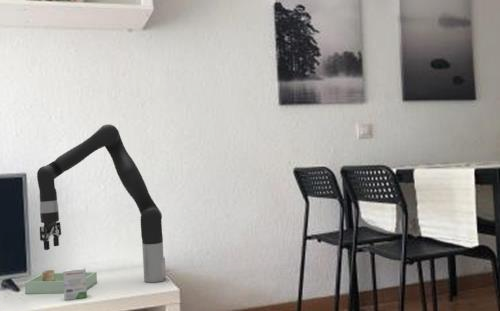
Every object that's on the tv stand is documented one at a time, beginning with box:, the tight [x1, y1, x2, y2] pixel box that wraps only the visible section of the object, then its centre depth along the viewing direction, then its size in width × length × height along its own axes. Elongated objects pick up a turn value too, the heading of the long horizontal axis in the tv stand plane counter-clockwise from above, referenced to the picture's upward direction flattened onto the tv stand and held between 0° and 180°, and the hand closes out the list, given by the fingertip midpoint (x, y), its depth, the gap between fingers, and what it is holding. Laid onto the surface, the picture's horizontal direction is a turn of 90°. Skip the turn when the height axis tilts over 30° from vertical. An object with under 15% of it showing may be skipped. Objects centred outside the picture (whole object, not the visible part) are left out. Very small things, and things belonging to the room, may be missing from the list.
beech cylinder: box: [41, 269, 55, 281], centre depth 226 cm, size 5×5×7 cm
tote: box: [24, 271, 98, 295], centre depth 225 cm, size 26×16×5 cm, turn 85°
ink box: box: [62, 267, 88, 301], centre depth 209 cm, size 8×5×12 cm, turn 105°
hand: (51, 247), depth 224 cm, fingers open, 8 cm apart
